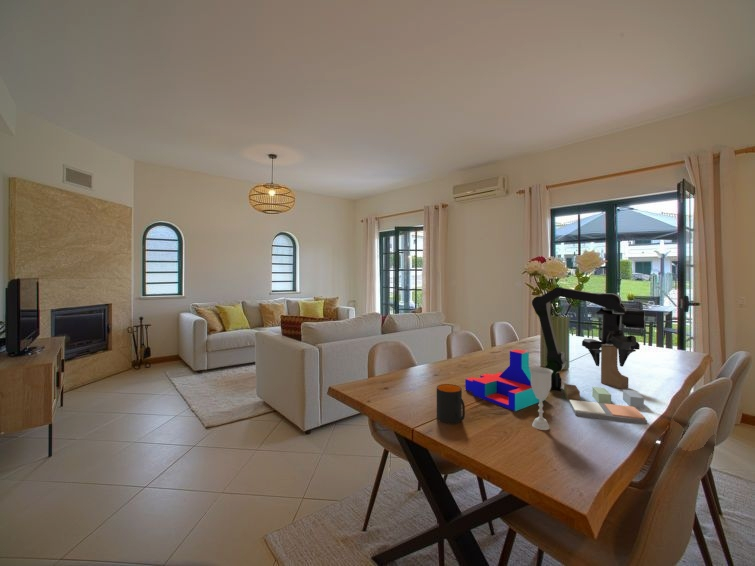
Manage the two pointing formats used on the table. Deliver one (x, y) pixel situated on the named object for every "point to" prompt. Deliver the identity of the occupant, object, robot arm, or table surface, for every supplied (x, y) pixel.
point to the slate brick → (633, 399)
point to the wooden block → (611, 368)
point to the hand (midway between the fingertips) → (609, 366)
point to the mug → (450, 404)
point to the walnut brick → (571, 392)
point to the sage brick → (601, 395)
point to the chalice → (540, 392)
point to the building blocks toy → (507, 384)
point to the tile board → (607, 411)
